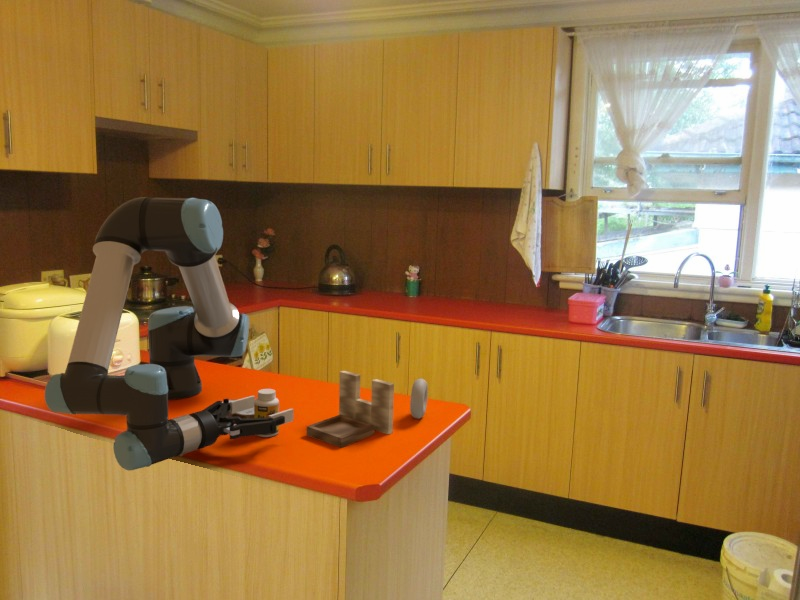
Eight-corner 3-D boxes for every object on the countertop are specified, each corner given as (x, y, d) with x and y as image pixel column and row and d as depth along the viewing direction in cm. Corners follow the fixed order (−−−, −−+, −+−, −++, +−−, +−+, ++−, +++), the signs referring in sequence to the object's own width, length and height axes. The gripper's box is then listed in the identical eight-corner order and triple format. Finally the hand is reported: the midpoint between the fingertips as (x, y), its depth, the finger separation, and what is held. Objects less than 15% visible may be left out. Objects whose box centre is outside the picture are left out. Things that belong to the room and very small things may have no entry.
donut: (422, 424, 160) (423, 385, 158) (408, 423, 160) (409, 384, 159) (428, 411, 170) (429, 374, 168) (414, 410, 170) (416, 373, 169)
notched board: (339, 418, 163) (339, 371, 161) (343, 417, 164) (343, 370, 162) (388, 434, 153) (389, 384, 151) (392, 432, 154) (393, 383, 152)
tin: (249, 428, 154) (274, 420, 161) (249, 415, 154) (274, 408, 161) (205, 415, 162) (231, 408, 169) (206, 402, 162) (231, 396, 169)
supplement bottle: (253, 438, 148) (253, 395, 146) (254, 429, 153) (254, 387, 152) (279, 437, 149) (278, 394, 147) (279, 429, 154) (278, 387, 153)
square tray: (306, 435, 151) (306, 426, 151) (339, 423, 159) (340, 414, 159) (341, 447, 144) (341, 438, 144) (374, 434, 153) (374, 425, 152)
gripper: (159, 434, 143) (239, 411, 160) (229, 466, 128) (309, 436, 144) (158, 401, 142) (238, 381, 158) (229, 429, 127) (309, 404, 143)
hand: (272, 407), depth 151 cm, fingers open, 13 cm apart
